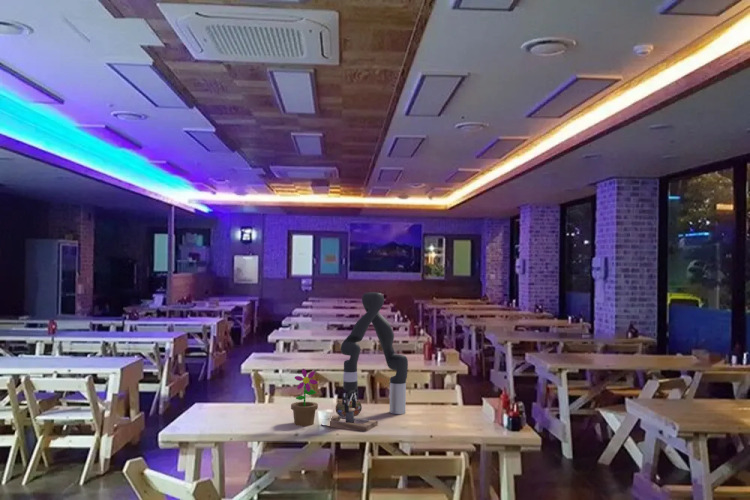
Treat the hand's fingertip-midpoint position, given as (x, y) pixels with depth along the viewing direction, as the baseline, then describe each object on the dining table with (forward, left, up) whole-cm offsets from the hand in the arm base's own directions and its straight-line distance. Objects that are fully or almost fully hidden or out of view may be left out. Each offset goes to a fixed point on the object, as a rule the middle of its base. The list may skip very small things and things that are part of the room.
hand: (350, 410), depth 347 cm
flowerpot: (+8, -23, -8) cm, 26 cm away
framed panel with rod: (0, 0, -8) cm, 8 cm away
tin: (-20, -11, -8) cm, 24 cm away
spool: (0, 0, -8) cm, 8 cm away
